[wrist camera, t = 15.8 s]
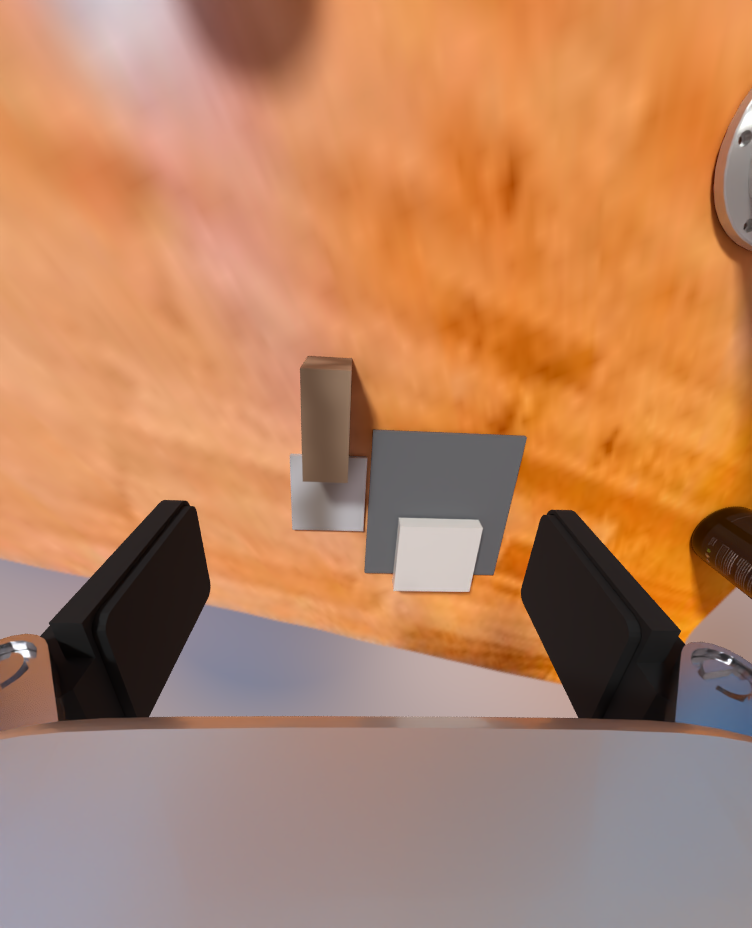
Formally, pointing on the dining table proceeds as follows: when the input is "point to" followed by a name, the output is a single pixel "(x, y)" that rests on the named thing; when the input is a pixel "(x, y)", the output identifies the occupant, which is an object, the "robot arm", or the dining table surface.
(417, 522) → the tile
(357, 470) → the brown and grey block
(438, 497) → the mat
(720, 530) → the supplement bottle
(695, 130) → the dining table surface
